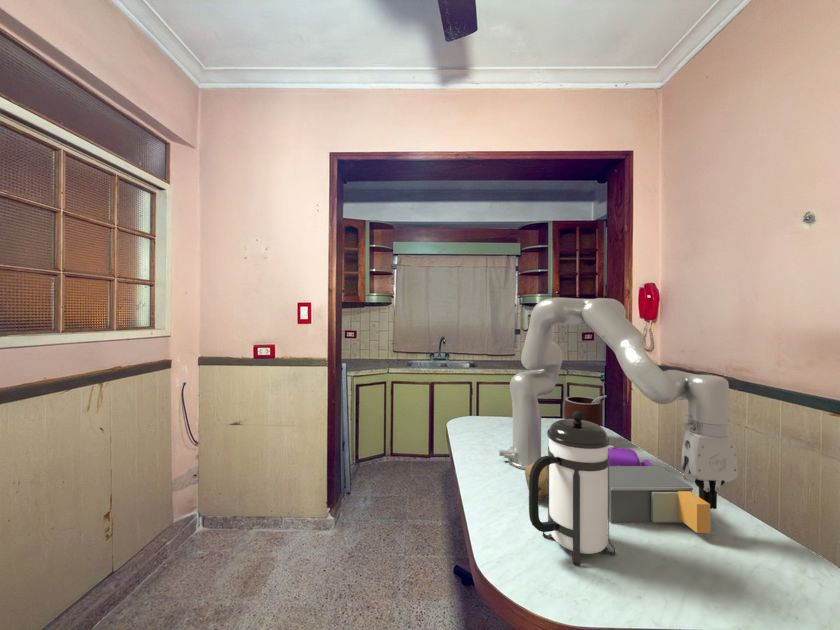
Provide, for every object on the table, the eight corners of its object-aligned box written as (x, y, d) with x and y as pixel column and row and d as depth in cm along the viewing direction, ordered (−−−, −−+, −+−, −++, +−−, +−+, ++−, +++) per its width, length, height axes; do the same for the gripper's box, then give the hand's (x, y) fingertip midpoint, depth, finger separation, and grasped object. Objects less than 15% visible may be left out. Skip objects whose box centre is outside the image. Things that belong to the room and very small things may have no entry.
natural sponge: (558, 493, 103) (558, 458, 103) (560, 509, 95) (560, 471, 95) (525, 488, 106) (525, 455, 106) (524, 504, 98) (524, 467, 98)
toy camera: (659, 494, 103) (659, 459, 103) (607, 489, 106) (607, 455, 106) (644, 477, 114) (644, 445, 114) (597, 473, 116) (597, 442, 116)
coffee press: (544, 517, 91) (544, 399, 91) (616, 537, 83) (616, 408, 83) (528, 558, 76) (528, 417, 76) (613, 586, 68) (613, 429, 68)
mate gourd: (561, 444, 142) (561, 394, 142) (567, 434, 154) (567, 387, 154) (605, 452, 134) (605, 398, 134) (608, 441, 146) (608, 391, 145)
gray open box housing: (603, 524, 88) (603, 487, 88) (580, 498, 101) (580, 466, 101) (692, 523, 88) (692, 487, 88) (659, 498, 101) (659, 466, 101)
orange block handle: (670, 537, 81) (670, 504, 81) (651, 520, 88) (651, 489, 88) (710, 537, 81) (710, 504, 81) (687, 519, 88) (687, 489, 88)
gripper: (688, 433, 81) (688, 515, 81) (754, 433, 81) (754, 514, 81) (665, 423, 88) (665, 498, 88) (725, 423, 88) (725, 497, 88)
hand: (707, 505), depth 84 cm, fingers closed
